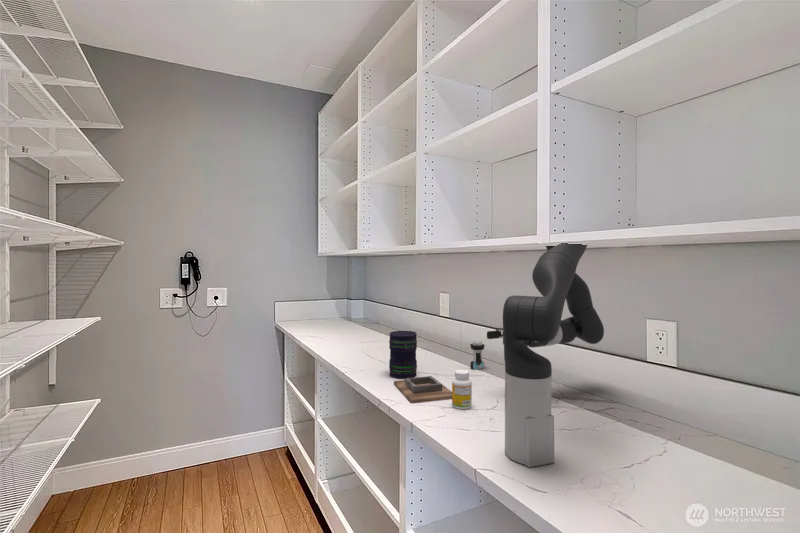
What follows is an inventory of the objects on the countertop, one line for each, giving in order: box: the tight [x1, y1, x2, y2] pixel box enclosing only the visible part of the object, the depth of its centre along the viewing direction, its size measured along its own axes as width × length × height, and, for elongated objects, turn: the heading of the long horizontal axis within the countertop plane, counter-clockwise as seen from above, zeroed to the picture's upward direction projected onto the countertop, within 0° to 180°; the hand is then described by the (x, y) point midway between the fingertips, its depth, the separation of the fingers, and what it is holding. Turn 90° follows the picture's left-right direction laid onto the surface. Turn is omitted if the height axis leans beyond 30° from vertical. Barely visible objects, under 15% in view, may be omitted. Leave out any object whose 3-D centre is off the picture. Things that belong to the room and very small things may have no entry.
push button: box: [470, 340, 487, 370], centre depth 147 cm, size 7×5×10 cm
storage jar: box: [388, 330, 418, 380], centre depth 138 cm, size 10×10×15 cm
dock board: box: [393, 375, 452, 404], centre depth 121 cm, size 18×14×3 cm
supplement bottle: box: [451, 369, 473, 410], centre depth 109 cm, size 5×5×10 cm
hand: (495, 338), depth 112 cm, fingers open, 8 cm apart
